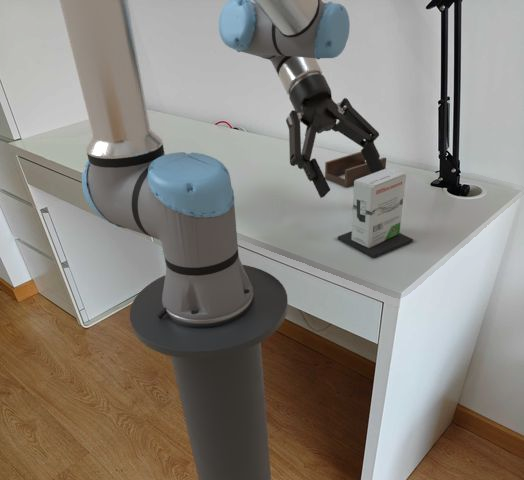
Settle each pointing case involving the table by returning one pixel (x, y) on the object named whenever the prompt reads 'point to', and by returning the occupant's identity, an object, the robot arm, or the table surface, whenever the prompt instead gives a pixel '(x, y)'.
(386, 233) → the ink box
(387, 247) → the mat
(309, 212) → the table surface
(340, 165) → the holder
